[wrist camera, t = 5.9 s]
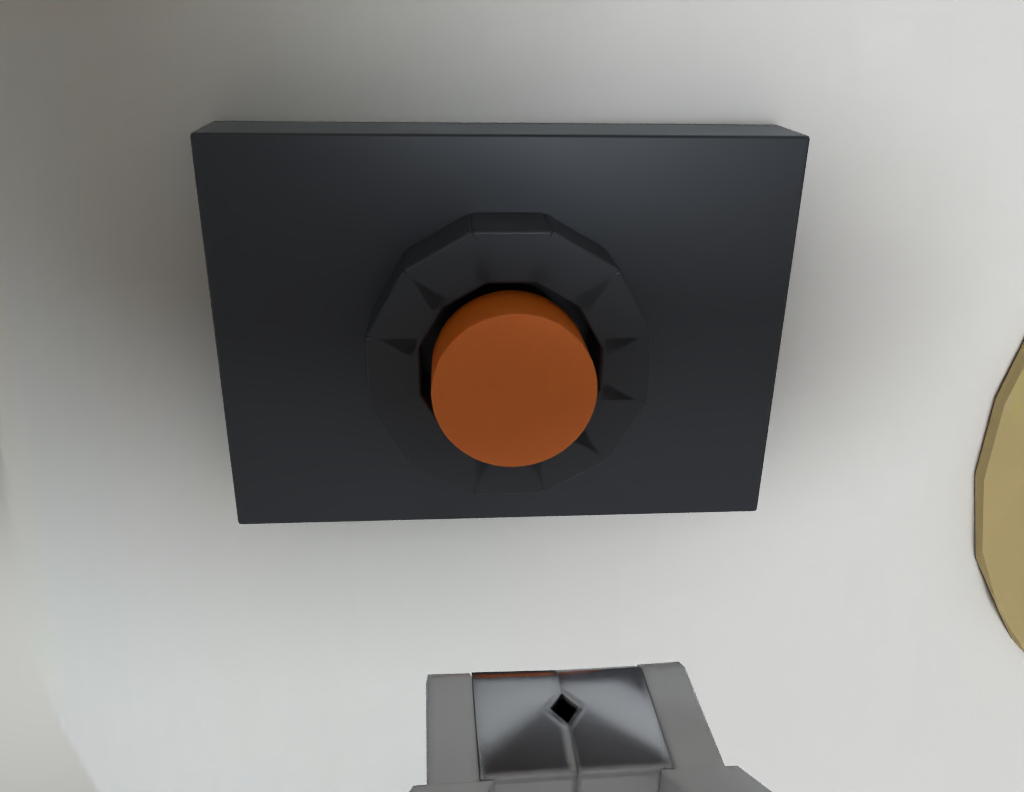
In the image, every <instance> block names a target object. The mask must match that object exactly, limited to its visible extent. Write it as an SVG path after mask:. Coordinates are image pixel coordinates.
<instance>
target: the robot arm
mask: <svg viewBox="0 0 1024 792" xmlns="http://www.w3.org/2000/svg"><path fill="white" fill-rule="evenodd" d="M426 728H427V785H417V786H413V787H412V789H411V790H410V791H409V792H771V791H770V790H769V789H767V788H766V787H765V786H764V785H762V784H761V783H760V782H758V781H757V780H756V779H754V778H753V777H752V776H750V775H749V774H748V773H746V772H745V771H744V770H742V769H741V768H740V767H738V766H724V763H723V761H722V758H721V756H720V753H719V751H718V748H717V746H716V743H715V741H714V738H713V736H712V733H711V731H710V729H709V726H708V724H707V721H706V719H705V716H704V714H703V711H702V709H701V706H700V704H699V701H698V699H697V696H696V694H695V692H694V689H693V687H692V684H691V682H690V679H689V677H688V674H687V672H686V669H685V667H684V666H683V665H682V664H681V663H679V662H669V663H655V664H641V665H637V666H622V667H605V668H588V669H570V670H549V671H512V672H475V673H472V676H471V675H470V674H469V673H466V674H432V675H428V677H427V682H426Z"/></svg>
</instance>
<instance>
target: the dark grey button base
mask: <svg viewBox="0 0 1024 792" xmlns="http://www.w3.org/2000/svg"><path fill="white" fill-rule="evenodd" d="M190 139H191V147H192V155H193V163H194V171H195V179H196V187H197V195H198V203H199V211H200V219H201V227H202V235H203V243H204V251H205V259H206V267H207V275H208V283H209V291H210V299H211V307H212V315H213V323H214V331H215V339H216V347H217V355H218V363H219V371H220V379H221V387H222V395H223V403H224V411H225V419H226V427H227V435H228V443H229V451H230V459H231V467H232V475H233V483H234V491H235V499H236V507H237V515H238V522H239V524H263V523H301V522H340V521H379V520H418V519H457V518H495V517H534V516H573V515H612V514H650V513H689V512H728V511H755V510H756V509H757V503H758V496H759V489H760V482H761V475H762V468H763V461H764V454H765V447H766V440H767V433H768V426H769V419H770V412H771V405H772V398H773V391H774V384H775V377H776V370H777V363H778V356H779V349H780V342H781V335H782V328H783V321H784V314H785V307H786V300H787V293H788V286H789V279H790V272H791V265H792V258H793V251H794V244H795V237H796V230H797V223H798V216H799V209H800V202H801V195H802V188H803V181H804V174H805V167H806V160H807V153H808V146H809V136H806V135H804V134H801V133H798V132H795V131H792V130H789V129H787V128H784V127H781V126H778V125H725V124H571V123H418V122H264V121H214V122H212V123H210V124H208V125H206V126H204V127H202V128H200V129H198V130H196V131H194V132H192V133H191V135H190ZM505 290H517V291H525V292H531V293H534V294H537V295H540V296H542V297H545V298H547V299H549V300H551V301H552V302H554V303H555V304H557V305H558V306H560V307H561V308H562V309H563V310H564V311H565V312H566V313H567V314H568V315H569V316H570V317H571V318H572V320H573V321H574V323H575V324H576V326H577V327H578V329H579V331H580V333H581V336H582V338H583V340H584V342H585V345H586V347H587V349H588V352H589V354H590V357H591V359H592V361H593V364H594V367H595V371H596V376H597V399H596V404H595V408H594V411H593V414H592V416H591V418H590V421H589V422H588V424H587V426H586V427H585V429H584V430H583V432H582V433H581V434H580V436H579V437H578V438H577V439H576V440H575V441H574V442H573V443H572V444H571V445H570V446H569V447H567V448H566V449H565V450H563V451H562V452H560V453H559V454H557V455H555V456H554V457H552V458H549V459H547V460H545V461H542V462H539V463H536V464H532V465H527V466H518V467H503V466H497V465H492V464H488V463H484V462H482V461H479V460H477V459H474V458H472V457H471V456H469V455H467V454H465V453H464V452H463V451H461V450H460V449H459V448H457V447H456V446H455V445H454V444H453V443H452V442H451V441H450V440H449V439H448V438H447V436H446V435H445V434H444V432H443V431H442V429H441V427H440V426H439V424H438V422H437V419H436V417H435V414H434V411H433V406H432V400H431V372H432V354H433V349H434V345H435V342H436V339H437V337H438V335H439V333H440V331H441V329H442V327H443V326H444V324H445V323H446V321H447V320H448V319H449V318H450V317H451V316H452V315H453V313H455V312H456V311H457V310H458V309H459V308H460V307H462V306H463V305H465V304H466V303H468V302H469V301H471V300H473V299H475V298H477V297H479V296H482V295H485V294H488V293H492V292H497V291H505Z"/></svg>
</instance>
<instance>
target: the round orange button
mask: <svg viewBox="0 0 1024 792" xmlns="http://www.w3.org/2000/svg"><path fill="white" fill-rule="evenodd" d="M596 399H597V376H596V371H595V367H594V364H593V361H592V359H591V357H590V354H589V352H588V349H587V347H586V345H585V342H584V340H583V338H582V336H581V333H580V331H579V329H578V327H577V326H576V324H575V323H574V321H573V320H572V318H571V317H570V316H569V315H568V314H567V313H566V312H565V311H564V310H563V309H562V308H561V307H560V306H558V305H557V304H555V303H554V302H552V301H551V300H549V299H547V298H545V297H542V296H540V295H537V294H534V293H531V292H525V291H517V290H505V291H497V292H492V293H488V294H485V295H482V296H479V297H477V298H475V299H473V300H471V301H469V302H468V303H466V304H465V305H463V306H462V307H460V308H459V309H458V310H457V311H456V312H455V313H453V315H452V316H451V317H450V318H449V319H448V320H447V321H446V323H445V324H444V326H443V327H442V329H441V331H440V333H439V335H438V337H437V339H436V342H435V345H434V349H433V354H432V372H431V400H432V406H433V411H434V414H435V417H436V419H437V422H438V424H439V426H440V427H441V429H442V431H443V432H444V434H445V435H446V436H447V438H448V439H449V440H450V441H451V442H452V443H453V444H454V445H455V446H456V447H457V448H459V449H460V450H461V451H463V452H464V453H465V454H467V455H469V456H471V457H472V458H474V459H477V460H479V461H482V462H484V463H488V464H492V465H497V466H503V467H518V466H527V465H532V464H536V463H539V462H542V461H545V460H547V459H549V458H552V457H554V456H555V455H557V454H559V453H560V452H562V451H563V450H565V449H566V448H567V447H569V446H570V445H571V444H572V443H573V442H574V441H575V440H576V439H577V438H578V437H579V436H580V434H581V433H582V432H583V430H584V429H585V427H586V426H587V424H588V422H589V421H590V418H591V416H592V414H593V411H594V408H595V404H596Z"/></svg>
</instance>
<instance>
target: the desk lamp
mask: <svg viewBox="0 0 1024 792" xmlns="http://www.w3.org/2000/svg"><path fill="white" fill-rule="evenodd" d="M975 538H976V559H977V562H978V564H979V566H980V569H981V571H982V573H983V576H984V578H985V580H986V582H987V585H988V587H989V589H990V592H991V594H992V596H993V599H994V601H995V603H996V606H997V608H998V610H999V612H1000V615H1001V617H1002V619H1003V621H1004V624H1005V626H1006V628H1007V630H1008V632H1009V635H1010V637H1011V638H1012V639H1013V640H1014V641H1015V642H1016V643H1017V644H1018V646H1019V647H1020V648H1021V649H1022V650H1023V651H1024V342H1023V344H1022V346H1021V348H1020V350H1019V352H1018V354H1017V356H1016V358H1015V361H1014V363H1013V365H1012V367H1011V369H1010V371H1009V373H1008V375H1007V377H1006V379H1005V381H1004V383H1003V385H1002V387H1001V389H1000V391H999V393H998V395H997V397H996V400H995V403H994V407H993V411H992V415H991V418H990V422H989V426H988V429H987V433H986V437H985V440H984V444H983V448H982V452H981V455H980V459H979V463H978V466H977V470H976V474H975Z"/></svg>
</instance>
